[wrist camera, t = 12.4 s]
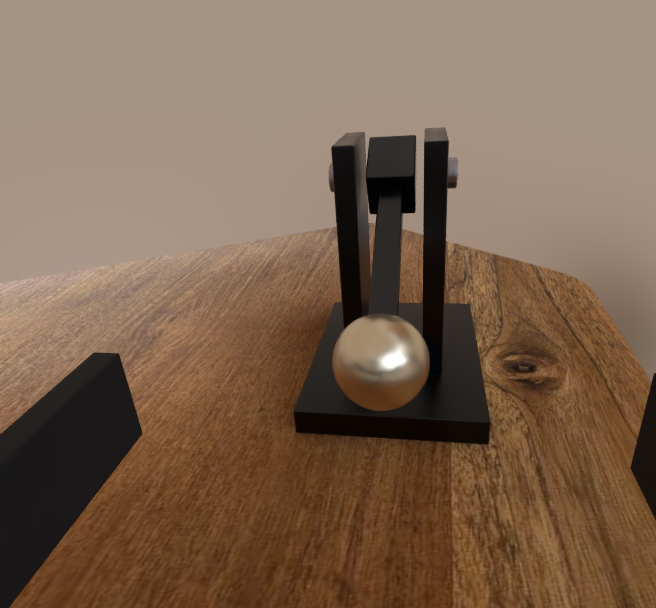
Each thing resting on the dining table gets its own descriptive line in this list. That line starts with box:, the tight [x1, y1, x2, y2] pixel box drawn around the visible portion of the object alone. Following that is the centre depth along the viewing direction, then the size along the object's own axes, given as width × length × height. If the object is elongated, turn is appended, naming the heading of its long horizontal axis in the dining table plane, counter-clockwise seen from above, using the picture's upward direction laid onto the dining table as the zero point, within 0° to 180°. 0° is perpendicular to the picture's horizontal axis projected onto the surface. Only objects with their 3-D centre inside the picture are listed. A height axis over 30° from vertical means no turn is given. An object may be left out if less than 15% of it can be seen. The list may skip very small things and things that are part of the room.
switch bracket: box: [294, 128, 490, 444], centre depth 26 cm, size 12×9×13 cm
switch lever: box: [332, 135, 430, 411], centre depth 21 cm, size 13×4×4 cm, turn 170°
